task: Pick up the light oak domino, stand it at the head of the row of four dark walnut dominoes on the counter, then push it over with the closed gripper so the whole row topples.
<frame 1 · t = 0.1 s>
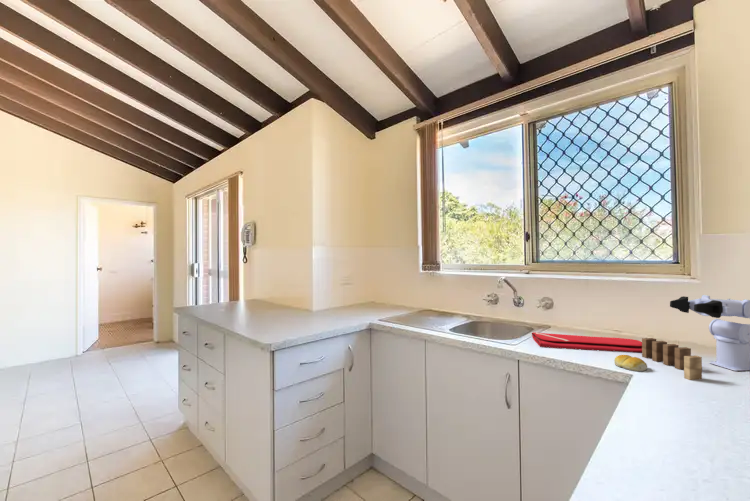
hand: (682, 305, 110), 22 cm above the countertop, tool horizontal, fingers open, 7 cm apart
domino 2: (682, 368, 111), on the countertop
domino 5: (649, 357, 123), on the countertop
dish drying mat: (587, 346, 140), on the countertop
domino 3: (670, 364, 115), on the countertop
bread roll: (630, 368, 113), on the countertop
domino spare: (693, 378, 103), on the countertop
domino 4: (659, 360, 119), on the countertop
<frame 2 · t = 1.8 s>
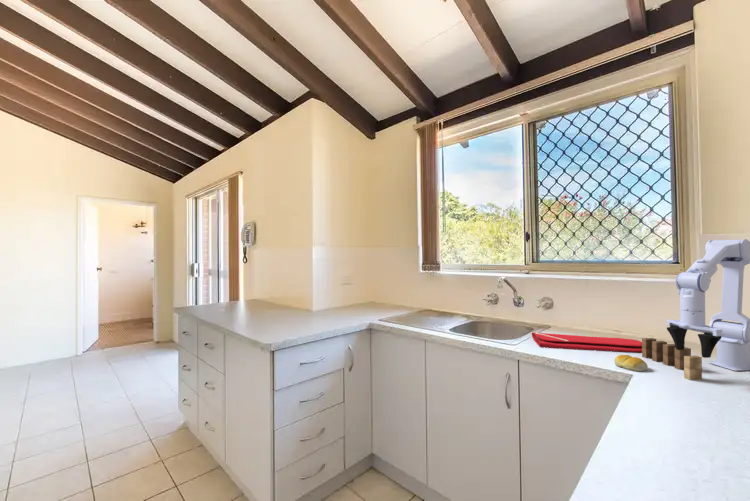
hand: (692, 353, 103), 8 cm above the countertop, tool pointing down, fingers open, 7 cm apart
nothing on the countertop moved.
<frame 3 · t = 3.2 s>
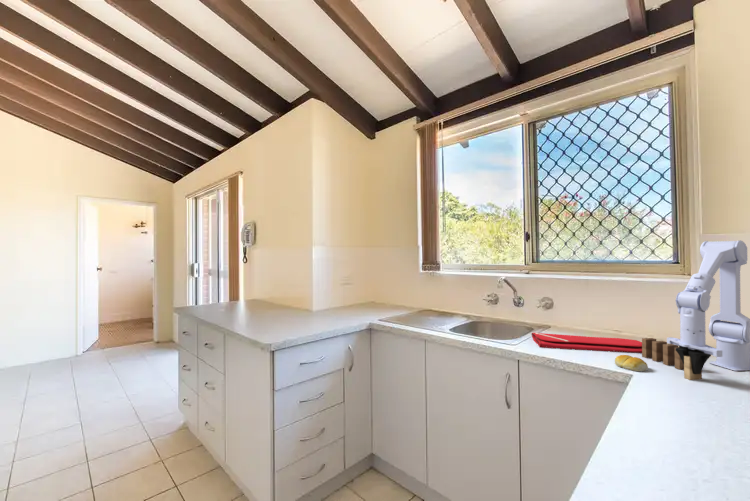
hand: (692, 372, 103), 2 cm above the countertop, tool pointing down, fingers closed on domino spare, 2 cm apart
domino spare: (693, 378, 103), on the countertop, touching gripper
everything else where it was.
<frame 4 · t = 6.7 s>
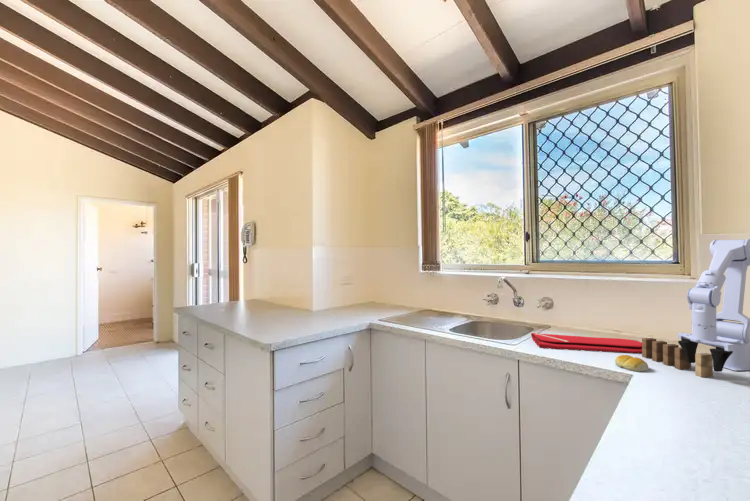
hand: (704, 366, 105), 3 cm above the countertop, tool pointing down, fingers open, 7 cm apart
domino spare: (704, 375, 105), on the countertop
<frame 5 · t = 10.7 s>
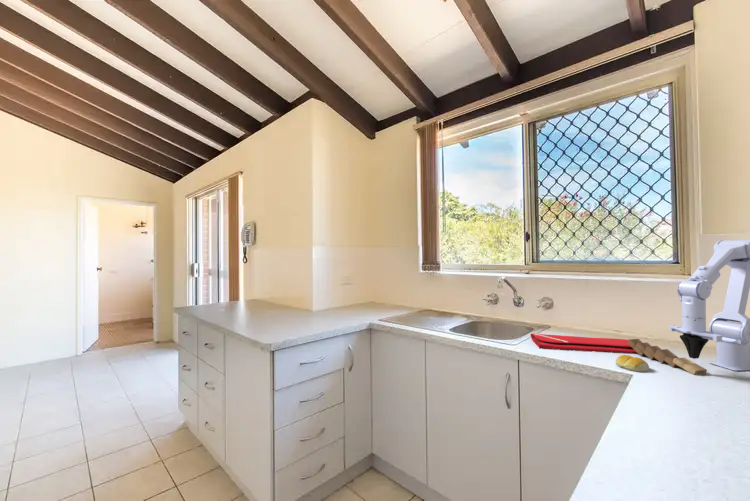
hand: (694, 357, 108), 5 cm above the countertop, tool pointing down, fingers closed
domino 2: (679, 365, 112), point 1 cm above the countertop, tilted 65°, touching domino 3, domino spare
domino 5: (646, 354, 124), point 1 cm above the countertop, tilted 58°, touching dish drying mat, domino 4
dish drying mat: (586, 347, 138), on the countertop, touching domino 5
domino 3: (668, 361, 116), point 1 cm above the countertop, tilted 64°, touching domino 2, domino 4
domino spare: (700, 372, 106), point 1 cm above the countertop, tilted 75°, touching domino 2
domino 4: (657, 357, 120), point 1 cm above the countertop, tilted 62°, touching domino 3, domino 5
everything else where it was.
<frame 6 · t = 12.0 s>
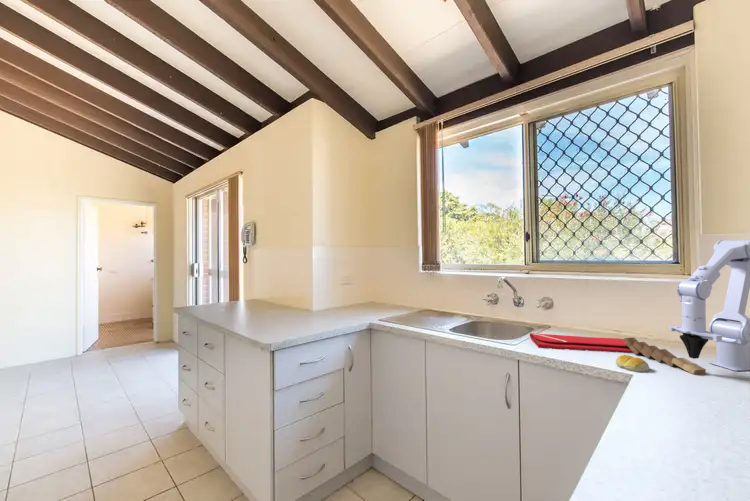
hand: (693, 357, 108), 5 cm above the countertop, tool pointing down, fingers closed
domino 5: (642, 353, 125), point 1 cm above the countertop, tilted 55°, touching dish drying mat
domino 4: (654, 356, 121), point 1 cm above the countertop, tilted 63°, touching domino 3
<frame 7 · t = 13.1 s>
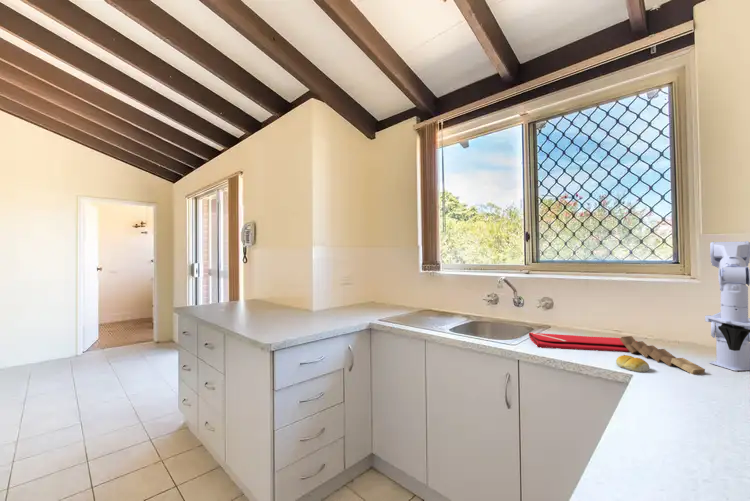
hand: (734, 349, 100), 10 cm above the countertop, tool pointing down, fingers closed
domino 5: (638, 352, 127), point 1 cm above the countertop, tilted 53°
dish drying mat: (584, 346, 140), on the countertop
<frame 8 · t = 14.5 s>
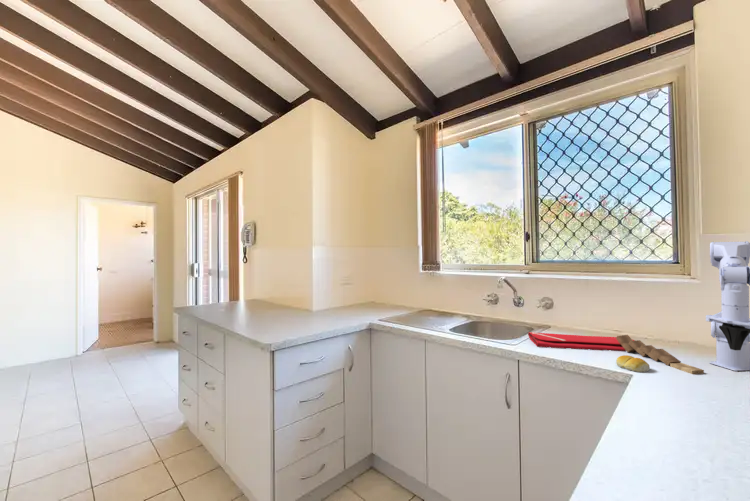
hand: (735, 349, 100), 10 cm above the countertop, tool pointing down, fingers closed
domino 2: (674, 363, 114), point 1 cm above the countertop, tilted 68°, touching domino 3
domino 5: (634, 350, 128), point 1 cm above the countertop, tilted 54°
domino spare: (698, 372, 107), on the countertop, tilted 90°
domino 4: (649, 355, 123), point 1 cm above the countertop, tilted 62°, touching domino 3
at the end: domino 5 tilted 54°; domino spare tilted 90°; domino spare inside the target area (1.2 cm from its centre), on the countertop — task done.
